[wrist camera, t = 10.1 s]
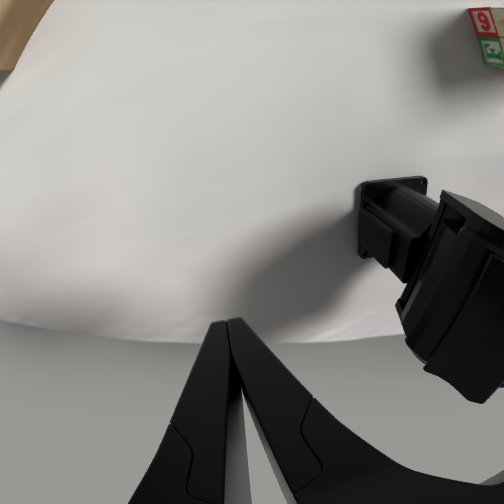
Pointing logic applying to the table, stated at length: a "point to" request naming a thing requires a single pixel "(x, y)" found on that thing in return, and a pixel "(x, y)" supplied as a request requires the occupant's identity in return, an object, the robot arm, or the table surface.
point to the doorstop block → (18, 27)
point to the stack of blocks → (490, 33)
